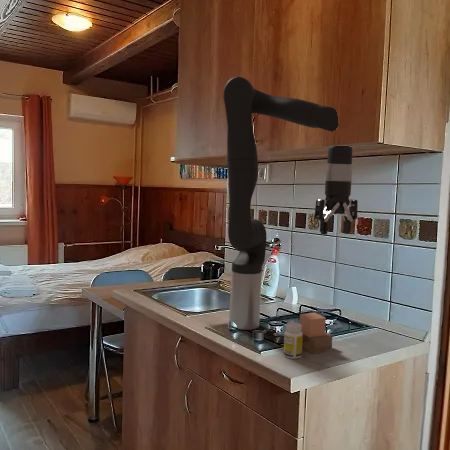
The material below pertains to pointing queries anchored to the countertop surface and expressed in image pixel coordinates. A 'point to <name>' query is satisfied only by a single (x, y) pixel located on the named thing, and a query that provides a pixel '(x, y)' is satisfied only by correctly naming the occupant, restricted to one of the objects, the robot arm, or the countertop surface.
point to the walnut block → (317, 343)
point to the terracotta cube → (312, 324)
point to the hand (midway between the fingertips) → (335, 234)
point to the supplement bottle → (293, 340)
